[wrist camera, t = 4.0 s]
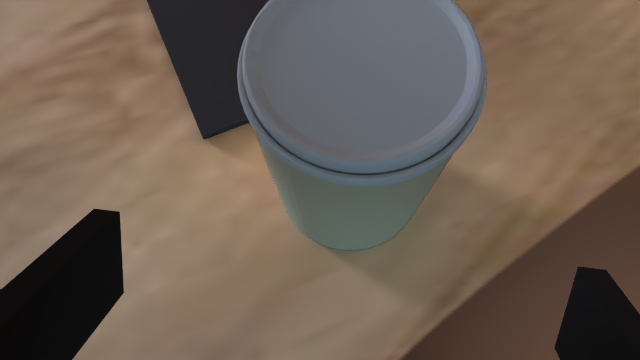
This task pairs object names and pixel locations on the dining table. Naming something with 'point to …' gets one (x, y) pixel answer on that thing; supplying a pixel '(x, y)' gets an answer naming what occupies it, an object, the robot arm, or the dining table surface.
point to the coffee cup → (359, 108)
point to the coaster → (207, 55)
